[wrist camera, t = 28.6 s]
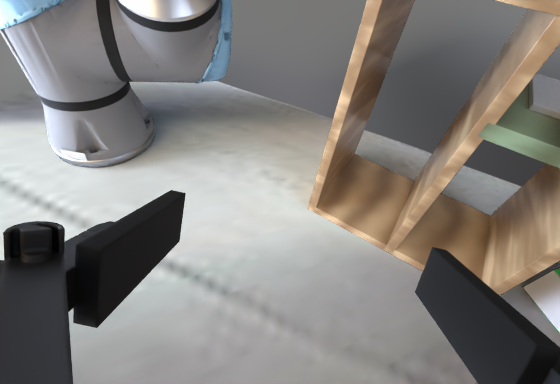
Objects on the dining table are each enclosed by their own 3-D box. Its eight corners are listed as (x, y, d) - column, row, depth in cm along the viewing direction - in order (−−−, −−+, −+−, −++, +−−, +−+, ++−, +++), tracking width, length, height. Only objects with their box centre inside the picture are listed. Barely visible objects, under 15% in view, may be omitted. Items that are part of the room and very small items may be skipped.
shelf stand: (307, 208, 42) (383, -56, 20) (346, 156, 51) (428, -67, 29) (484, 304, 35) (911, 59, 13) (493, 223, 44) (752, -3, 22)
